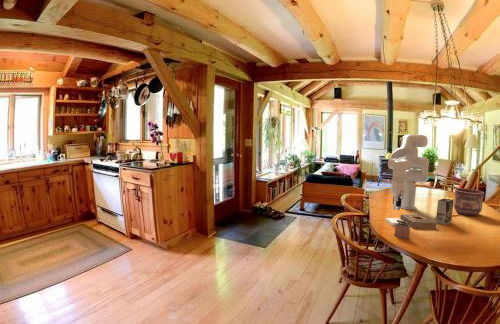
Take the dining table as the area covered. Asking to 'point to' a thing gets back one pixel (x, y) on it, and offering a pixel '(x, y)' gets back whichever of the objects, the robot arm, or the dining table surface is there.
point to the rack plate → (418, 221)
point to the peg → (395, 203)
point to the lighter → (402, 229)
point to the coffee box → (444, 211)
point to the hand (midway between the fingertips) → (396, 205)
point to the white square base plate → (392, 221)
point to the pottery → (468, 201)
